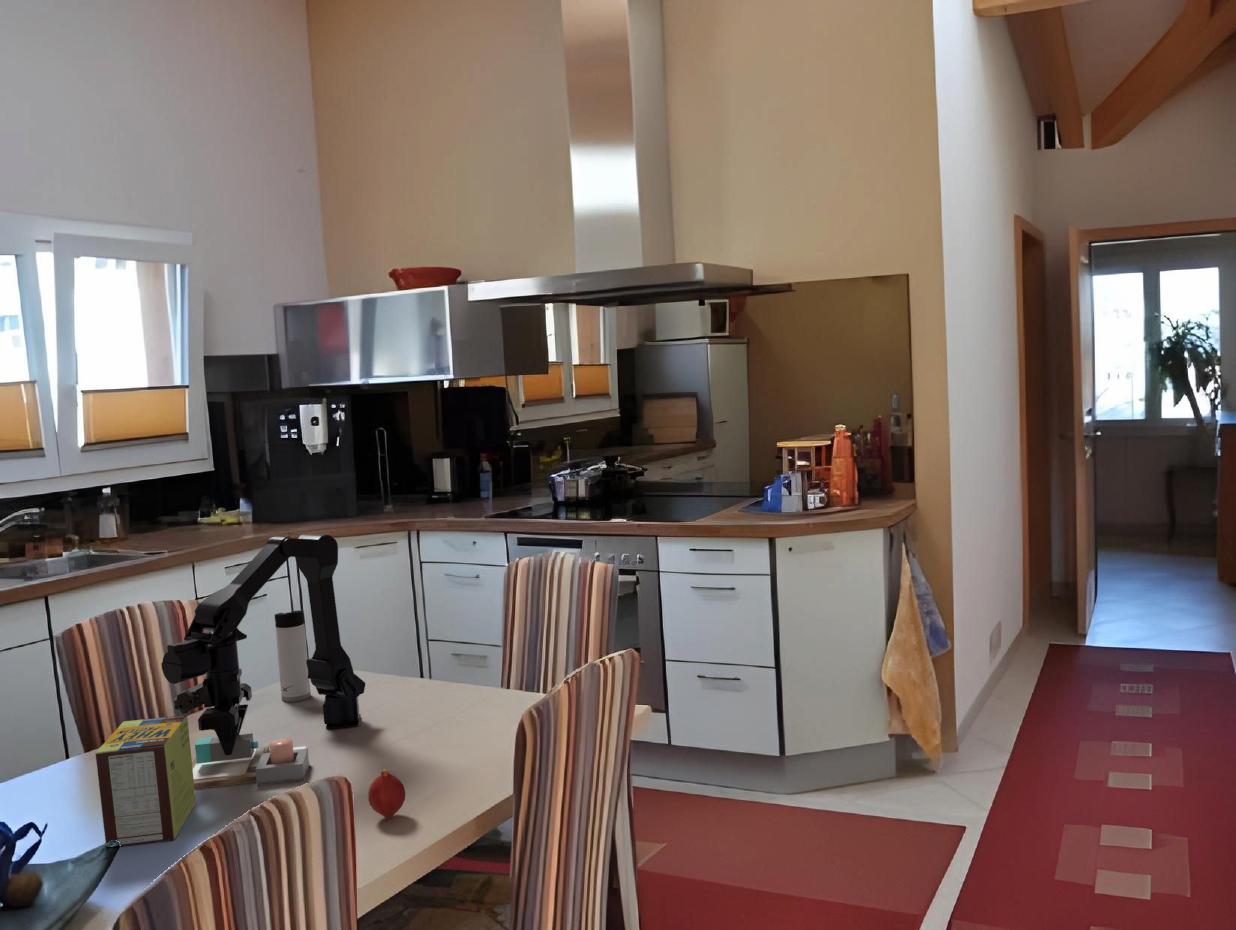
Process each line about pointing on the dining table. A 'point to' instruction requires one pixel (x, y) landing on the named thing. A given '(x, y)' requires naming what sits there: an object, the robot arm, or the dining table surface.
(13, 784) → the dining table surface
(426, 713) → the dining table surface
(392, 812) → the onion
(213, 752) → the block
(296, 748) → the card
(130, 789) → the protein box
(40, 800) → the dining table surface
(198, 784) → the clipboard
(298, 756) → the button housing
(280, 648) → the travel mug
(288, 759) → the button
